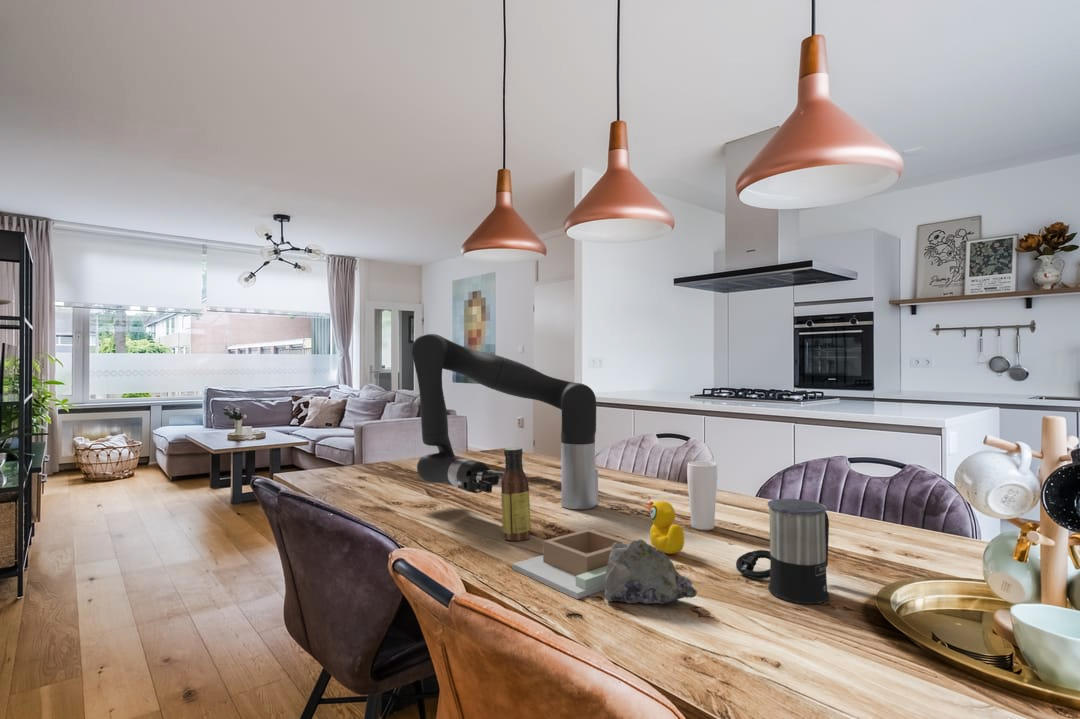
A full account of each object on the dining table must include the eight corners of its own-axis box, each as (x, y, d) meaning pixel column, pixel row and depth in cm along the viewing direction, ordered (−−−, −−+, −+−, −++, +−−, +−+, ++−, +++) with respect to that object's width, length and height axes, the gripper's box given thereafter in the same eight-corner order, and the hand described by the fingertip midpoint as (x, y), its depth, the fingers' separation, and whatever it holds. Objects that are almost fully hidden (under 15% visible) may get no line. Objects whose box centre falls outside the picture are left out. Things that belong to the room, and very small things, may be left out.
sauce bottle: (534, 535, 128) (534, 446, 128) (524, 543, 122) (524, 451, 122) (507, 532, 130) (507, 445, 130) (496, 540, 124) (496, 449, 124)
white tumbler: (685, 530, 131) (685, 465, 131) (689, 522, 137) (689, 460, 137) (716, 533, 128) (715, 466, 128) (719, 525, 134) (718, 462, 135)
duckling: (639, 544, 121) (638, 497, 121) (661, 541, 123) (661, 495, 123) (667, 561, 110) (667, 510, 110) (691, 558, 112) (691, 507, 112)
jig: (595, 545, 120) (595, 521, 120) (663, 568, 106) (663, 541, 106) (512, 569, 107) (512, 542, 107) (577, 599, 93) (577, 568, 93)
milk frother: (825, 610, 88) (824, 514, 88) (722, 589, 96) (721, 502, 96) (834, 580, 100) (833, 496, 100) (741, 564, 108) (740, 486, 109)
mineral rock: (700, 606, 90) (700, 543, 90) (657, 627, 83) (656, 558, 83) (637, 583, 100) (637, 525, 100) (594, 599, 93) (594, 538, 93)
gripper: (443, 463, 137) (479, 472, 124) (492, 456, 146) (531, 465, 133) (443, 494, 137) (480, 507, 124) (492, 486, 146) (531, 497, 133)
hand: (506, 485), depth 129 cm, fingers open, 8 cm apart
